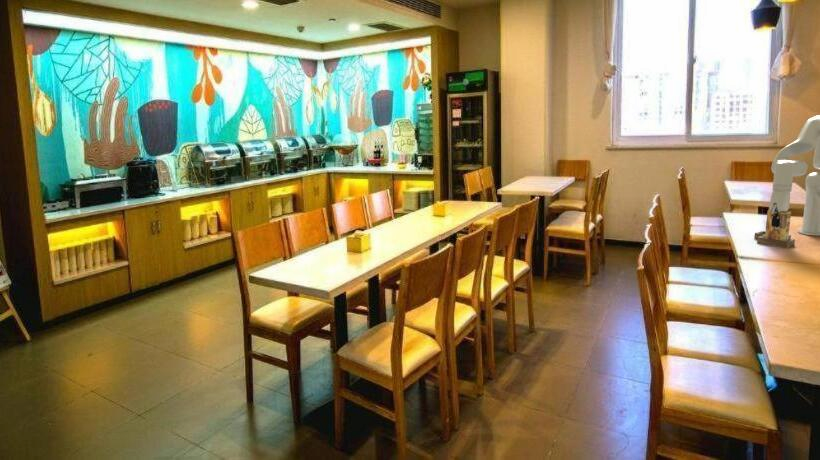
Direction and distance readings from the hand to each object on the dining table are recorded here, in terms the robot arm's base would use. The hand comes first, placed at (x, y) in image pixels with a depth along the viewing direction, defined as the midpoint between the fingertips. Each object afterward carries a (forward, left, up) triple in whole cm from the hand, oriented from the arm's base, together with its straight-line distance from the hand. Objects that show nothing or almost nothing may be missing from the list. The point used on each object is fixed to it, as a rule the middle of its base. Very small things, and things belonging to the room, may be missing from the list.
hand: (777, 225), depth 265 cm
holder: (-4, -3, -9) cm, 10 cm away
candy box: (0, 0, -9) cm, 9 cm away
